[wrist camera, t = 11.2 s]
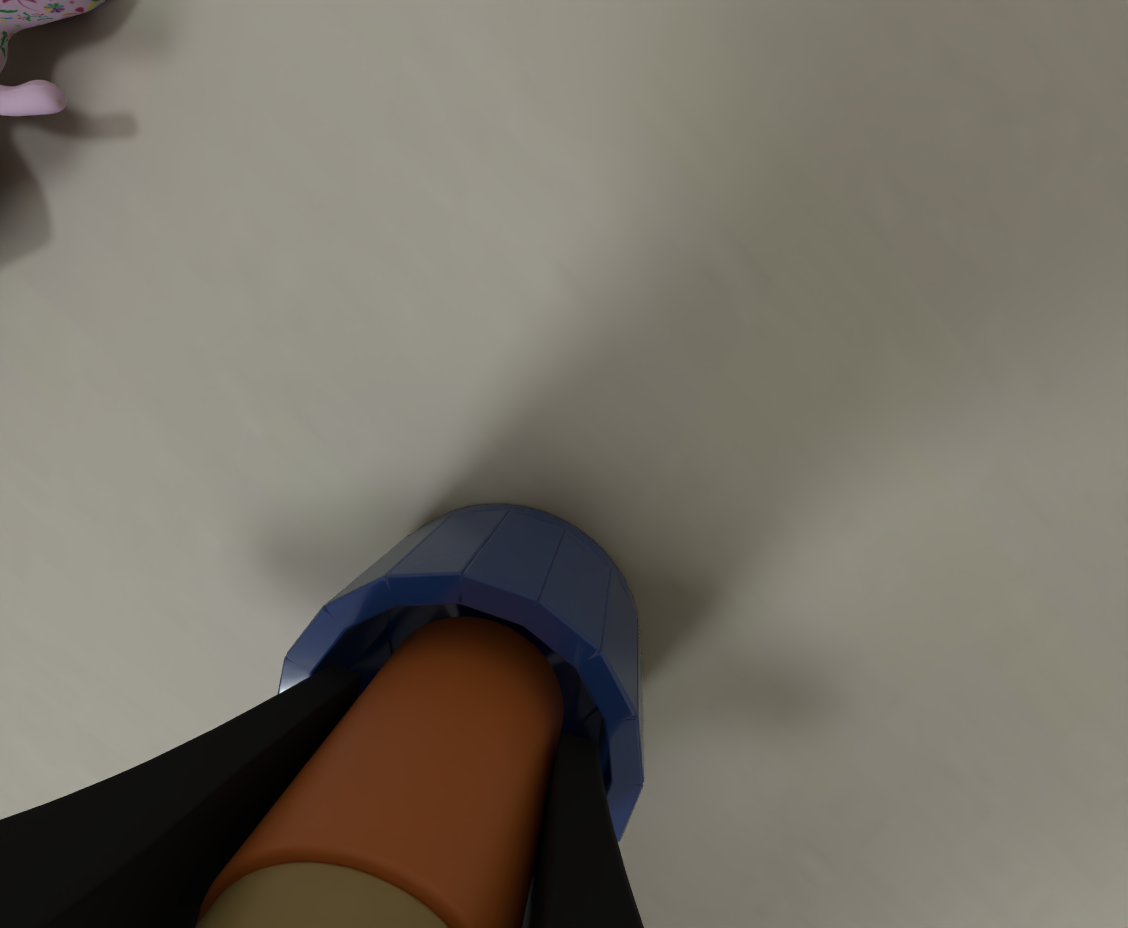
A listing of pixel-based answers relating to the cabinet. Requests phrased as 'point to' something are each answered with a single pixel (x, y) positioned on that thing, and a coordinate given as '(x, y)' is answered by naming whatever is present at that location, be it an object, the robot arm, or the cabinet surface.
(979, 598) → the cabinet surface
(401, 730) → the cream-capped orange cylinder
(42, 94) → the pink toy
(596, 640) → the cup
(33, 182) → the cabinet surface
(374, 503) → the cabinet surface
